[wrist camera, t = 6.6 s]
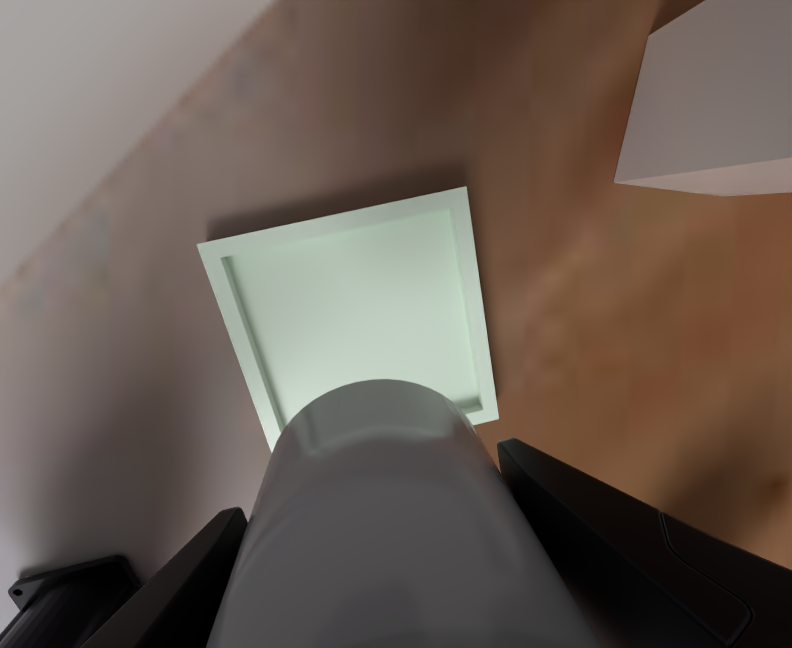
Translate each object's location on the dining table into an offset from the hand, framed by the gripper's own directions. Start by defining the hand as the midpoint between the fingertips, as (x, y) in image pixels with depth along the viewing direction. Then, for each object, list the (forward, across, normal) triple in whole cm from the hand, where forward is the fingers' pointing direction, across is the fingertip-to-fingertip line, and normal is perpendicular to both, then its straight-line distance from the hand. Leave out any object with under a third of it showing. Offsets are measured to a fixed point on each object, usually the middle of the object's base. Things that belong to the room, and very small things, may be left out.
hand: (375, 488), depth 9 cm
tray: (+12, 0, 0) cm, 12 cm away
